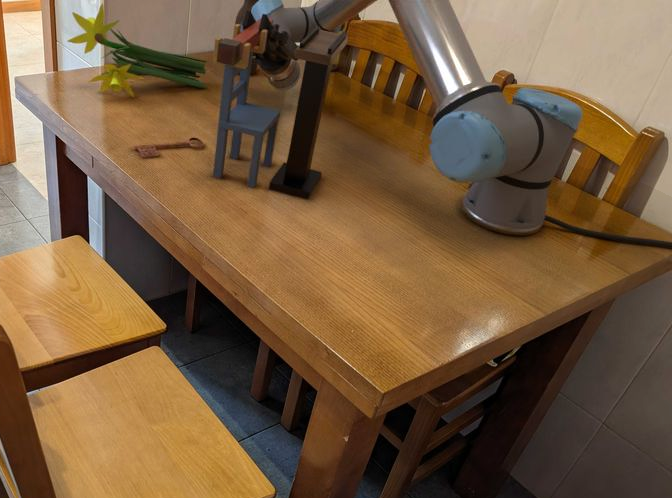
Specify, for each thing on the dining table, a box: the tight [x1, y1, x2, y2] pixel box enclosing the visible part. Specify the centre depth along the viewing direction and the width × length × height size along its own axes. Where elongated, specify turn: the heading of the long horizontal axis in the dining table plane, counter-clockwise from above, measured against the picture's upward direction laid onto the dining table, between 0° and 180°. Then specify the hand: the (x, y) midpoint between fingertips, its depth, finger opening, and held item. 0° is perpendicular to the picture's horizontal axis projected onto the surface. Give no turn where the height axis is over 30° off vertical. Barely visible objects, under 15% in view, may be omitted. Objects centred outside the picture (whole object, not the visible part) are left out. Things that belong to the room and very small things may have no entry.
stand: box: [268, 26, 349, 200], centre depth 119 cm, size 14×8×27 cm, turn 159°
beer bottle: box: [234, 0, 259, 76], centre depth 168 cm, size 8×8×24 cm
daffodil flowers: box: [67, 3, 208, 98], centre depth 153 cm, size 17×15×35 cm
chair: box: [212, 24, 282, 188], centre depth 122 cm, size 12×11×25 cm
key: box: [133, 137, 204, 159], centre depth 134 cm, size 6×1×15 cm
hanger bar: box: [217, 18, 273, 66], centre depth 118 cm, size 24×3×3 cm, turn 159°
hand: (254, 20), depth 119 cm, fingers closed on hanger bar, 2 cm apart
